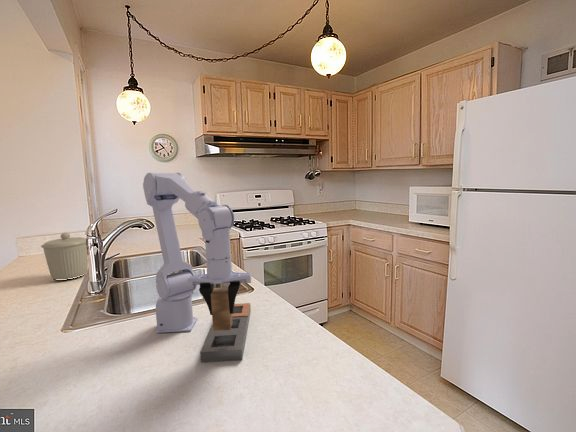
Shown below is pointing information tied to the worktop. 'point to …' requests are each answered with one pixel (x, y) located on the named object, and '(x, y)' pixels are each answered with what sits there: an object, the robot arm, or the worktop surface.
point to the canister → (66, 256)
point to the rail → (228, 338)
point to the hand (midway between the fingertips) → (222, 312)
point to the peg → (221, 309)
